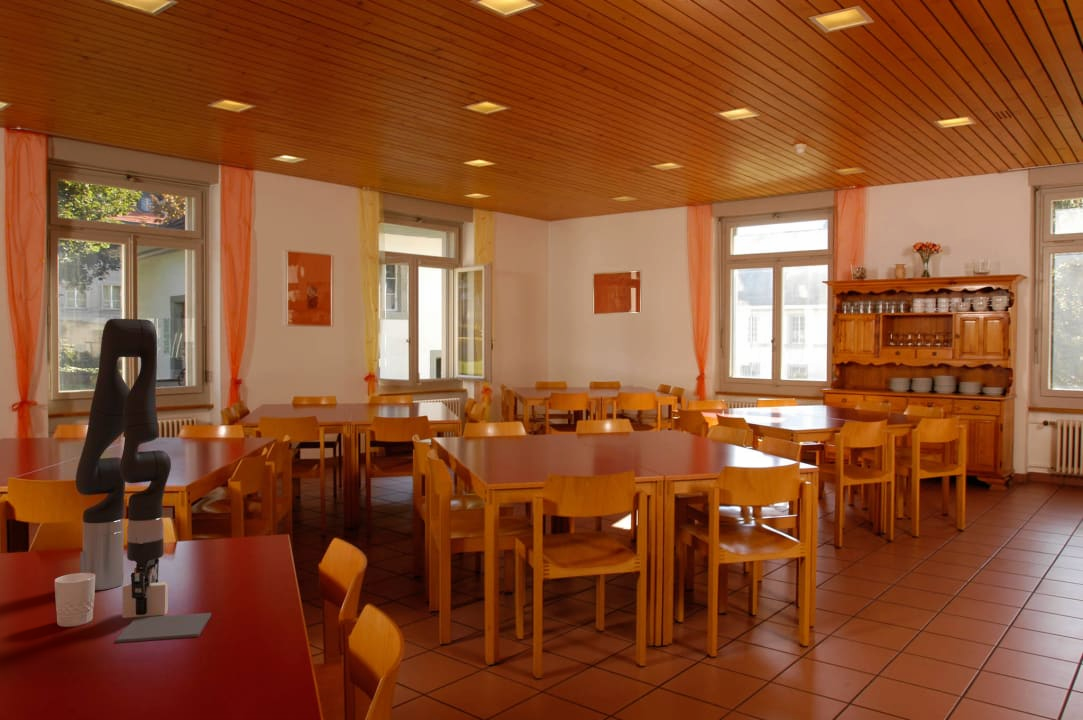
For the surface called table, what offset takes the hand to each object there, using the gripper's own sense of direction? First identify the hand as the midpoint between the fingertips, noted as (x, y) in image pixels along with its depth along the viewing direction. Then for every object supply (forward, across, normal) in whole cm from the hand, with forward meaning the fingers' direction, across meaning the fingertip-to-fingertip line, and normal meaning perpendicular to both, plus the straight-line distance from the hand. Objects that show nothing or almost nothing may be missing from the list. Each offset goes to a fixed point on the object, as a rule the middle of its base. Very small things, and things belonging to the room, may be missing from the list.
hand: (145, 609), depth 178 cm
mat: (+1, +11, +7) cm, 13 cm away
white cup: (+1, +2, -14) cm, 14 cm away
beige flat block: (+1, 0, 0) cm, 1 cm away
